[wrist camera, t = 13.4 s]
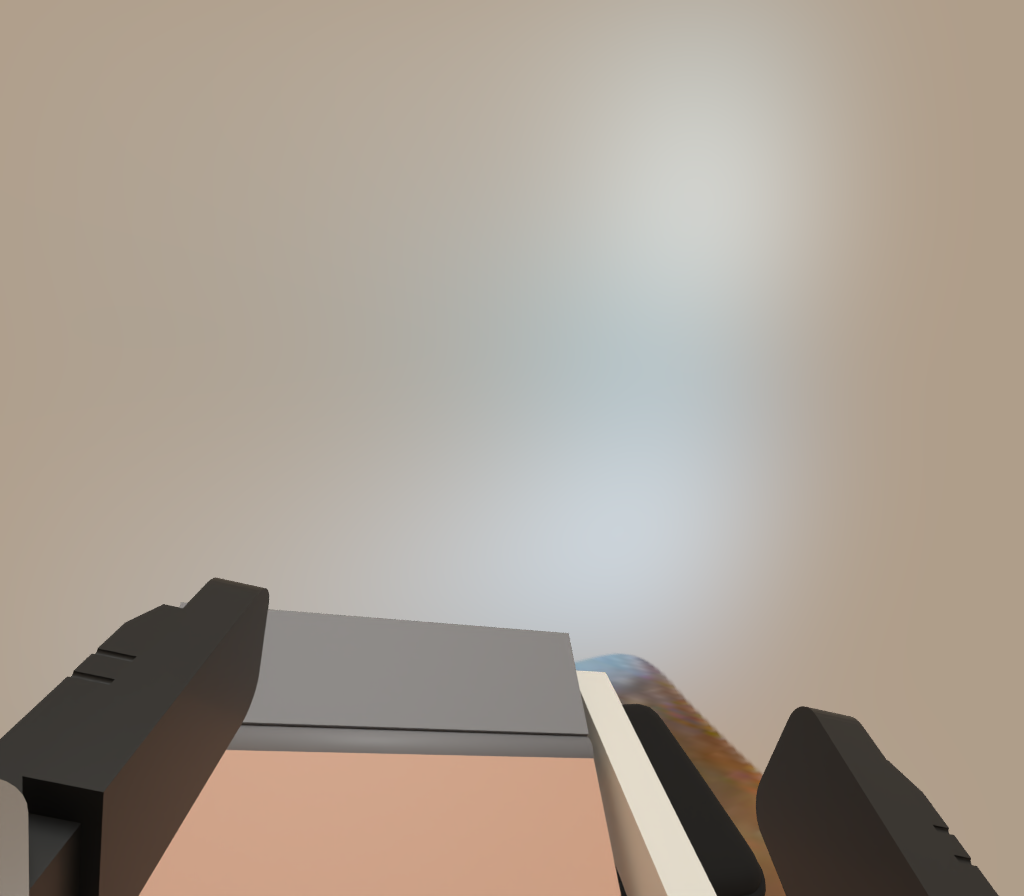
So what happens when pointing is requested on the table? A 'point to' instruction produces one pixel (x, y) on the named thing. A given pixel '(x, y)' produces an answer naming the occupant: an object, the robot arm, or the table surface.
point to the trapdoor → (400, 770)
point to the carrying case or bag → (697, 811)
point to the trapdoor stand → (636, 803)
